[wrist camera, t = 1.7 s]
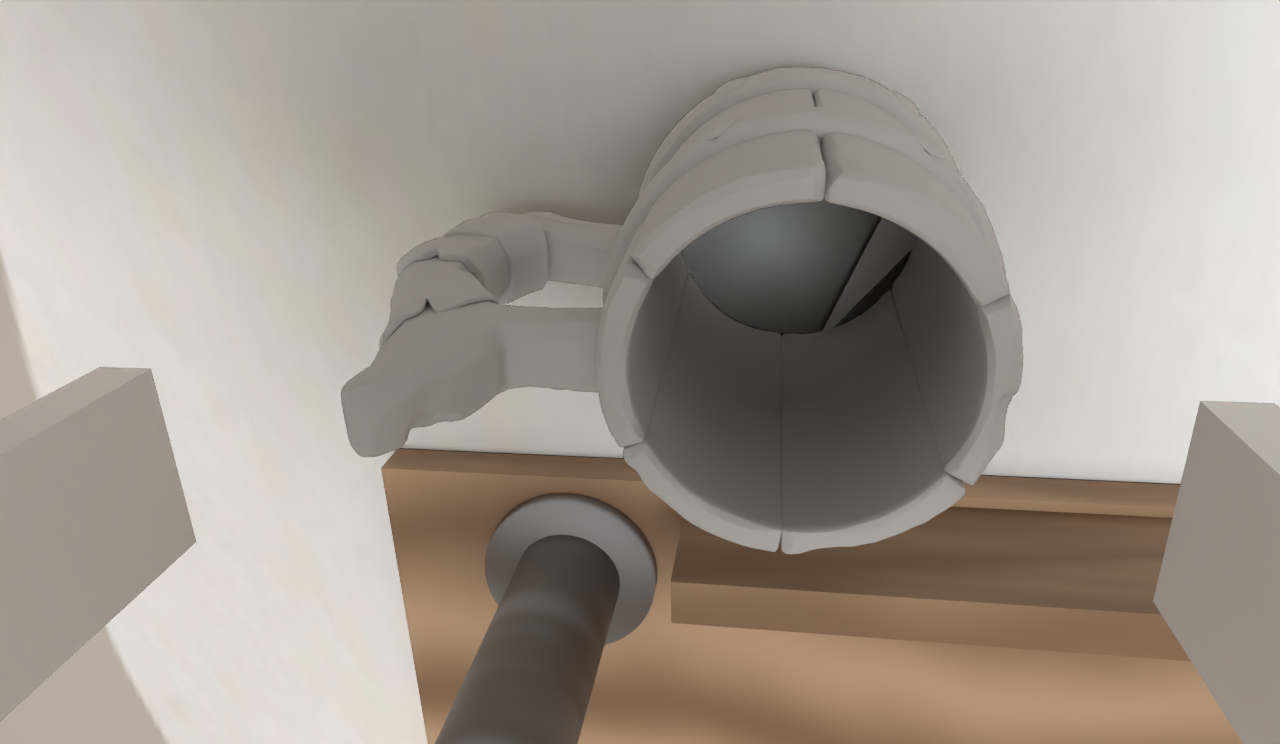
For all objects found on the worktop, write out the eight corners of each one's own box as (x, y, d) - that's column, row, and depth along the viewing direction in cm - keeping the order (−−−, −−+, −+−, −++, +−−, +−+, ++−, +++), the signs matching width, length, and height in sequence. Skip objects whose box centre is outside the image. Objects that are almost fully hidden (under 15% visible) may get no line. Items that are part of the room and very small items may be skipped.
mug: (936, 368, 23) (1074, 710, 12) (500, 351, 25) (277, 636, 14) (975, 59, 20) (1208, 142, 9) (475, 64, 22) (162, 139, 11)
